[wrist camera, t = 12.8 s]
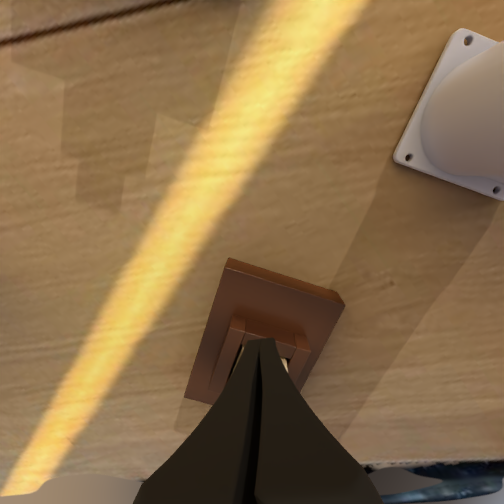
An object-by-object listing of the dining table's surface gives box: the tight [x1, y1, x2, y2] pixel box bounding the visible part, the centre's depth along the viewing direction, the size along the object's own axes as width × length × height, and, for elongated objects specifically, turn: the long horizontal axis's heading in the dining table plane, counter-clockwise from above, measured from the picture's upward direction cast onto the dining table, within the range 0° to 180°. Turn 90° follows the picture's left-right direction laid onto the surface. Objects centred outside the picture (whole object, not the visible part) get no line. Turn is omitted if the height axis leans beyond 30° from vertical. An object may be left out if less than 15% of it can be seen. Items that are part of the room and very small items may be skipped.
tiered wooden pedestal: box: [184, 258, 345, 405], centre depth 21 cm, size 14×10×4 cm
